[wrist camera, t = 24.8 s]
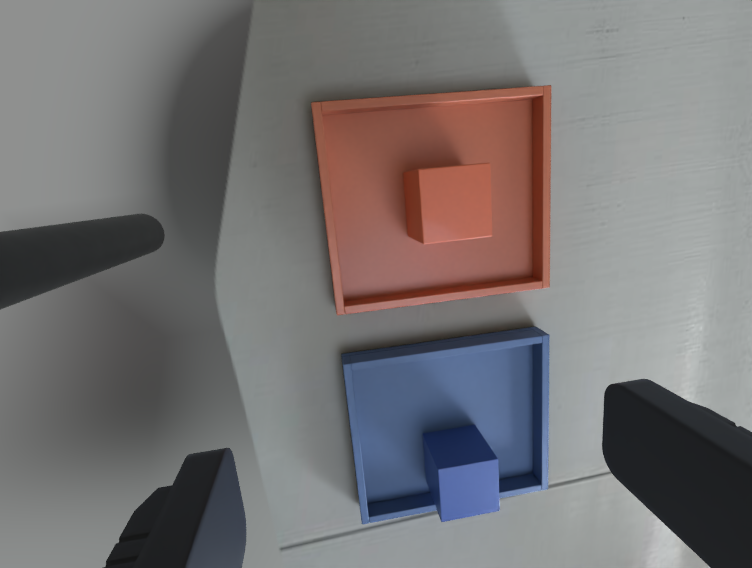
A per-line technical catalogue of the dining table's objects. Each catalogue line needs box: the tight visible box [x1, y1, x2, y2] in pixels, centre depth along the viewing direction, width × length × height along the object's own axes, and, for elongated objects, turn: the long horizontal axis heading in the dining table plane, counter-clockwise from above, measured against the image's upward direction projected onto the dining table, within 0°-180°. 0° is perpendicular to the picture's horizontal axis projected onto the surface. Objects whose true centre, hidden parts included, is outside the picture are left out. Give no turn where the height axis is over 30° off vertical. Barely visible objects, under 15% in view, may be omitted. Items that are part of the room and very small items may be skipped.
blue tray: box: [341, 327, 549, 524], centre depth 34 cm, size 16×14×2 cm
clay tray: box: [311, 85, 551, 315], centre depth 29 cm, size 16×14×2 cm
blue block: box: [422, 425, 500, 522], centre depth 33 cm, size 5×5×5 cm
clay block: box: [403, 162, 492, 244], centre depth 28 cm, size 5×5×5 cm
